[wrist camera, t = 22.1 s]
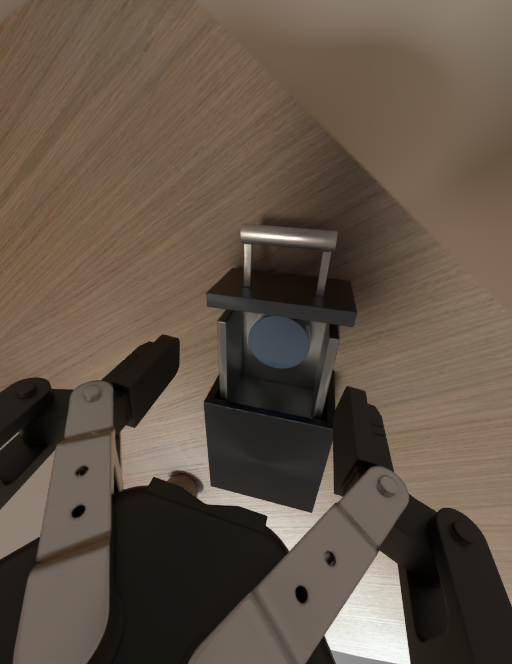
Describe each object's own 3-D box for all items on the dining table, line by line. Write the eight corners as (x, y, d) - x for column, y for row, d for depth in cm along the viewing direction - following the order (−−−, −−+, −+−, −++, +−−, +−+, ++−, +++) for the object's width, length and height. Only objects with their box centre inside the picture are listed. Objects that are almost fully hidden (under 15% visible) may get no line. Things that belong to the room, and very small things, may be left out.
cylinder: (271, 293, 26) (267, 303, 24) (323, 326, 26) (323, 338, 24) (244, 336, 29) (237, 348, 27) (290, 364, 29) (287, 378, 27)
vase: (172, 464, 49) (145, 514, 42) (206, 480, 49) (185, 533, 42) (166, 481, 53) (139, 530, 46) (197, 495, 53) (176, 547, 46)
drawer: (231, 214, 24) (202, 226, 18) (363, 224, 22) (375, 241, 16) (233, 372, 34) (213, 413, 28) (325, 389, 32) (324, 437, 26)
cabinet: (230, 352, 33) (203, 402, 26) (334, 370, 31) (336, 429, 24) (231, 431, 41) (210, 486, 33) (315, 449, 38) (312, 513, 31)
